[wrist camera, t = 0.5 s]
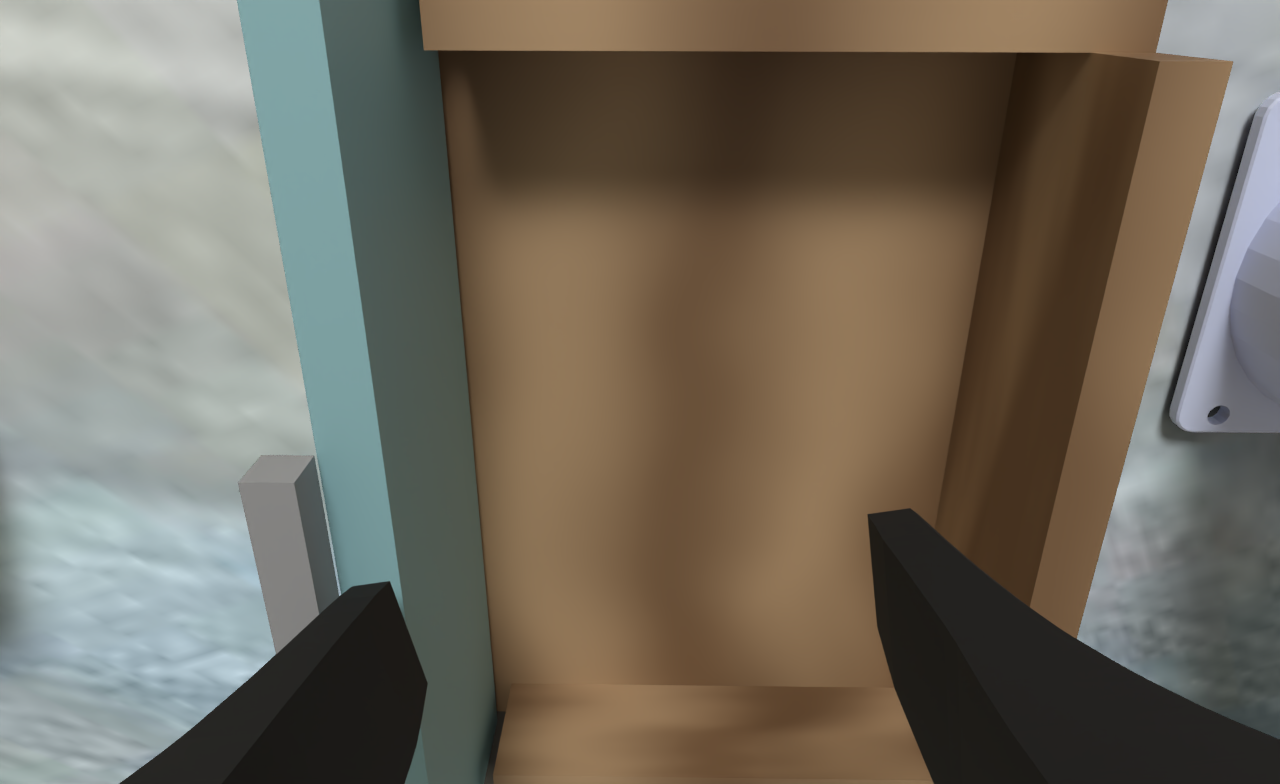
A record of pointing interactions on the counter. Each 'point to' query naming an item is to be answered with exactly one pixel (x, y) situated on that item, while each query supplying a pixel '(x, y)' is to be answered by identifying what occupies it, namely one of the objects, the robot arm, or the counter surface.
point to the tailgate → (372, 354)
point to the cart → (791, 345)
